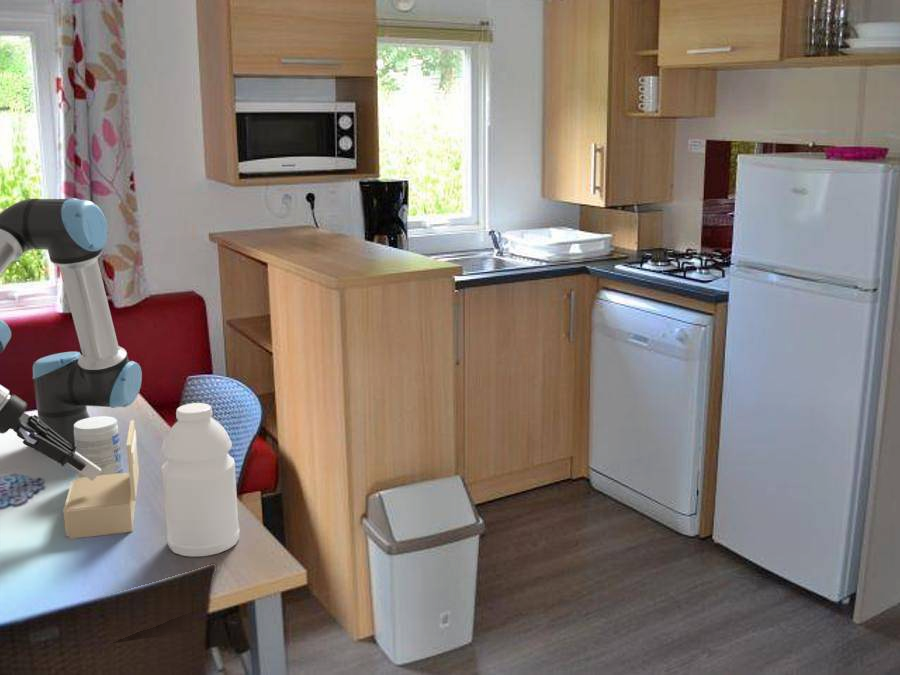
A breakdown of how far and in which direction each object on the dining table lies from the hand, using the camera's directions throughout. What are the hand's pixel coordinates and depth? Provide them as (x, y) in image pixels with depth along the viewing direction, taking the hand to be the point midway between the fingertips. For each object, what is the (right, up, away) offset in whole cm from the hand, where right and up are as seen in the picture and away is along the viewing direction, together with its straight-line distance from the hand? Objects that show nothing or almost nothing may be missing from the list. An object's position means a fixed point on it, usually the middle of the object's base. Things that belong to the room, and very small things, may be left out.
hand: (96, 474), depth 196 cm
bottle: (+25, -12, -9) cm, 29 cm away
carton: (+1, -9, +3) cm, 10 cm away
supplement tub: (-7, -5, +21) cm, 23 cm away
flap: (+7, -3, +3) cm, 8 cm away
